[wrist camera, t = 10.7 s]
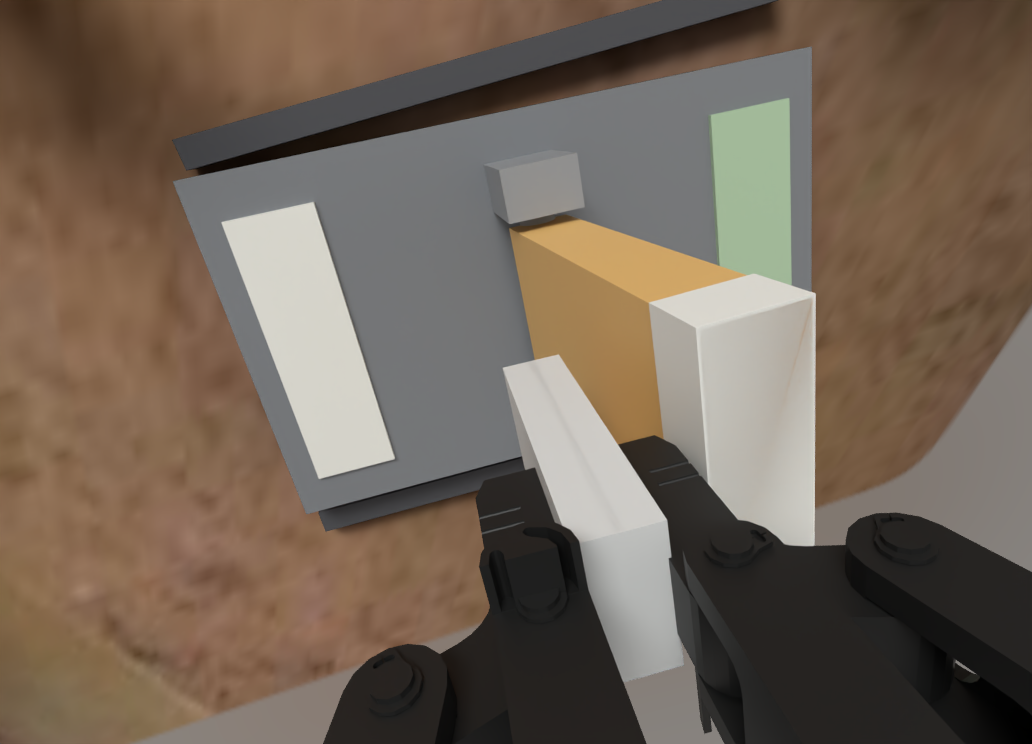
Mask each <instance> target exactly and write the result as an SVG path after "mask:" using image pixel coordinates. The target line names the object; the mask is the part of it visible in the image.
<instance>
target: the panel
mask: <svg viewBox="0 0 1032 744" xmlns="http://www.w3.org/2000/svg"><path fill="white" fill-rule="evenodd" d="M173 183H174V186H175V188H176V191H177V193H178V196H179V198H180V201H181V203H182V206H183V208H184V211H185V213H186V216H187V218H188V221H189V223H190V226H191V228H192V230H193V233H194V235H195V238H196V240H197V243H198V245H199V248H200V250H201V253H202V255H203V258H204V260H205V263H206V265H207V268H208V270H209V273H210V275H211V278H212V280H213V283H214V285H215V288H216V290H217V293H218V295H219V298H220V300H221V303H222V305H223V308H224V310H225V313H226V315H227V318H228V320H229V323H230V325H231V328H232V330H233V333H234V335H235V338H236V340H237V343H238V345H239V348H240V350H241V353H242V355H243V357H244V360H245V362H246V365H247V367H248V370H249V372H250V375H251V377H252V380H253V382H254V385H255V387H256V390H257V392H258V395H259V397H260V400H261V402H262V405H263V407H264V410H265V412H266V415H267V417H268V420H269V422H270V425H271V427H272V430H273V432H274V435H275V437H276V440H277V442H278V445H279V447H280V450H281V452H282V455H283V457H284V460H285V462H286V465H287V467H288V470H289V472H290V475H291V477H292V480H293V482H294V484H295V487H296V489H297V492H298V494H299V497H300V499H301V502H302V504H303V507H304V509H305V512H306V514H309V513H313V512H317V511H320V510H324V509H328V508H331V507H335V506H339V505H343V504H346V503H350V502H354V501H357V500H361V499H365V498H368V497H372V496H376V495H380V494H383V493H387V492H391V491H394V490H398V489H402V488H406V487H409V486H413V485H417V484H420V483H424V482H428V481H432V480H435V479H439V478H443V477H446V476H450V475H454V474H458V473H461V472H465V471H469V470H472V469H476V468H480V467H484V466H487V465H491V464H495V463H498V462H502V461H506V460H509V459H513V458H517V457H521V456H522V454H521V449H520V445H519V440H518V436H517V431H516V427H515V422H514V417H513V413H512V408H511V404H510V399H509V395H508V390H507V386H506V381H505V377H504V372H503V368H504V367H508V366H512V365H516V364H520V363H525V362H529V361H533V360H535V359H534V354H533V348H532V343H531V338H530V333H529V328H528V323H527V318H526V313H525V307H524V302H523V297H522V292H521V287H520V282H519V277H518V272H517V266H516V261H515V256H514V251H513V246H512V241H511V236H510V231H509V228H512V227H516V226H520V223H519V222H522V221H526V220H531V219H535V218H539V217H544V216H548V215H552V214H555V217H557V216H561V215H565V214H566V215H569V216H572V217H575V218H578V219H581V220H584V221H587V222H590V223H593V224H596V225H599V226H602V227H605V228H608V229H611V230H614V231H617V232H620V233H623V234H626V235H629V236H632V237H635V238H638V239H641V240H644V241H647V242H650V243H653V244H656V245H659V246H662V247H665V248H668V249H671V250H674V251H676V252H679V253H682V254H685V255H688V256H691V257H694V258H697V259H700V260H703V261H706V262H709V263H712V264H715V265H718V266H721V267H724V268H727V269H730V270H733V271H736V272H739V273H742V274H745V275H750V274H757V275H760V276H764V277H767V278H770V279H773V280H776V281H779V282H782V283H785V284H788V285H791V286H794V287H797V288H800V289H804V290H807V291H810V292H811V198H812V47H807V48H802V49H797V50H792V51H787V52H782V53H777V54H773V55H768V56H763V57H758V58H753V59H749V60H744V61H739V62H735V63H730V64H725V65H720V66H716V67H711V68H706V69H701V70H697V71H692V72H687V73H682V74H678V75H673V76H668V77H663V78H659V79H654V80H649V81H644V82H640V83H635V84H630V85H625V86H621V87H616V88H611V89H606V90H602V91H597V92H592V93H588V94H583V95H578V96H573V97H569V98H564V99H559V100H554V101H550V102H545V103H540V104H535V105H531V106H526V107H521V108H516V109H512V110H507V111H502V112H497V113H493V114H488V115H483V116H478V117H474V118H469V119H464V120H459V121H455V122H450V123H445V124H441V125H436V126H431V127H426V128H422V129H417V130H412V131H407V132H403V133H398V134H393V135H388V136H384V137H379V138H374V139H369V140H365V141H360V142H355V143H350V144H346V145H341V146H336V147H331V148H327V149H322V150H317V151H312V152H308V153H303V154H298V155H294V156H289V157H284V158H279V159H275V160H270V161H265V162H260V163H256V164H251V165H246V166H241V167H237V168H232V169H227V170H222V171H218V172H213V173H208V174H203V175H199V176H194V177H190V178H185V179H181V180H177V181H173Z"/></svg>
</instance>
